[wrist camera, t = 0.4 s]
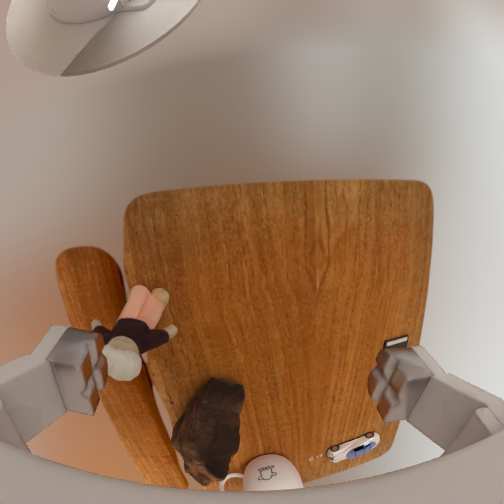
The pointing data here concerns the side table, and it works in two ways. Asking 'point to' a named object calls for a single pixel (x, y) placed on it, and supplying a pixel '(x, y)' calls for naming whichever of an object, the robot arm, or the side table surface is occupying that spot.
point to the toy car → (353, 447)
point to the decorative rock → (210, 430)
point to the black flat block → (396, 342)
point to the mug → (268, 474)
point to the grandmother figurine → (134, 332)
